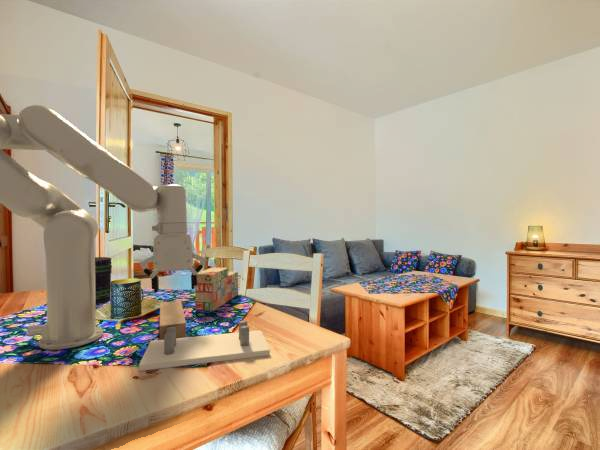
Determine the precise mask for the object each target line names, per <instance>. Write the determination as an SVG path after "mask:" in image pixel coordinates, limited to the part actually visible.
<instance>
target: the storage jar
mask: <svg viewBox="0 0 600 450" xmlns="http://www.w3.org/2000/svg"><path fill="white" fill-rule="evenodd" d="M112 265H113V264H112V257H106V256H103V257H102V256H97V257H96V256H95V299H96V304H103V303H106V302H109V301H111V300H110V282H111V283H112V272H113V270H112V268H113V266H112Z"/></svg>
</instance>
